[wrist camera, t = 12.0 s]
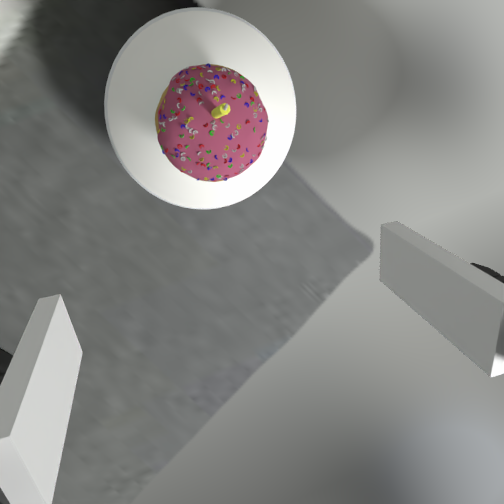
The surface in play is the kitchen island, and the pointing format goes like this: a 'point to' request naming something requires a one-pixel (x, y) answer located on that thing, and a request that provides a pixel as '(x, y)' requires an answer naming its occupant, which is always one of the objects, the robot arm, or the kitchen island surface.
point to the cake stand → (157, 80)
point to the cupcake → (211, 122)
